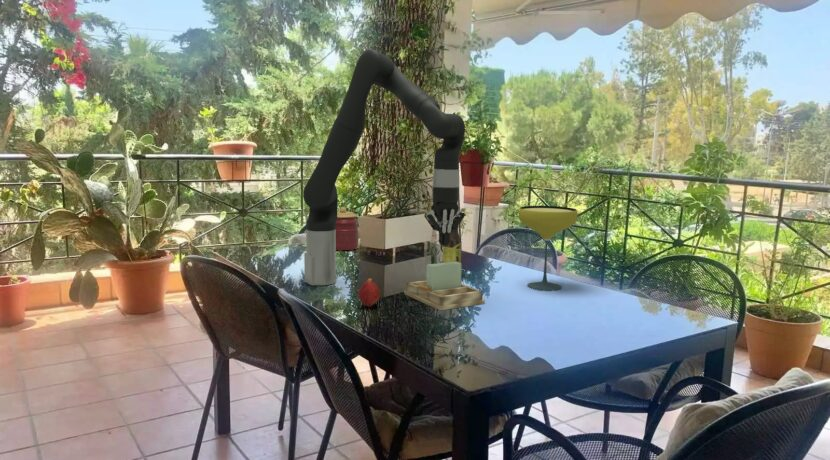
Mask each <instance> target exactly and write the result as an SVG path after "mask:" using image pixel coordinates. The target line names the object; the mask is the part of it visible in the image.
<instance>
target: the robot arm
mask: <svg viewBox="0 0 830 460" xmlns="http://www.w3.org/2000/svg"><path fill="white" fill-rule="evenodd" d="M373 85H375V86H378V87H380V88H382V89H384V90H387V91H388V92H390V93H391V94H392V95H394V96H395V97H397V99H398V100H399V101H400V102H401V104H402V105H403V106H404V108H406V110H408V111H409V112H410V113H411V115H413V116H415V117H416V118H417V119H418V120H420V121H421V122H422V124H423V125H424V127H425V128H426V130H427V131H428V132H429V133H430V134H431V135H432V136H434V137H435V138H437V139H441V140H442V143H441V147H439V148H437V149H436V150H435V152H434V157H433V159H434V160H433V163H434V164H433V174H432V193H431V194H432V196H431V198H432V199H431V200H432V206H431V208H430V209H431V210H430V211H429V212H428V213H425V214H424V218H425V220H426V221H427V222H428V224H429V226H430V227H431V229H432V230H434V231H436V232H438V244H439V245H440V246H442V247H443V246H448V244H449V242H450V232H451V231H453V230H456V228H457V227H458V228H459V226H460V224H461V223H462V221H463V220H464V218H465V217H466V213H465V212H462V211H461V209H460V206H459V204H458V202H459V201H460V200H459V199H460V170H459V169H460V153H461V149H462V146H463V143H464V141H465V140H464V139H465V134H466V125H465V124H466V123H465V121H464V119H463V118H462V116H461V115H459V114H455V113H445V112H444V111H442V110H441V106H440V104H439V103H438V101H437V100H436V99H434V98H433V97H432V96H431V95H430V94H428V93H427V92H426V91H424V90H423V89H421V88H420V87H419V86H417V84H415V83H414V82H413V81H411V80H410V79H409V78H408V77H406V75H405V74H404V73H403V72H402V71H401V70H400V68H399V67H398V66H397V65H396V64H395V62H393V60H392V59H391V58H390V57H388V56H387V55H385V54H383V53H382V52H380V51H378V50H376V49H374V48H373V49H372V48H370V49H367V50H365V51H364V52H362V54H361V55H360V56H359V58H358V59H357V62H356V64H355V67H354V70H353V74H352V77H351V79H350V83H349V86H348V88H347V92H346V94H345V97H344V98H343V101H342V103H341V106H340V108H339V111H338V114H337V116H336V118H335V120H334V121H333V124H332V126H331V129H330V132H329V134H328V136H327V139H326V141H325V143H324V147H323V149H322V152H321V154H320V157H319V160H318V162H317V164H316V167H315V168H314V169H313V172H312V173H311V175H310V178H309V179H308V180H307V182H306V184H305V186H304V189H303V193H302V195H303V201H304V203H305V205H306V206H308V211H309V212H308V217H307V219H306V222H305V226H306V227H305V229H306V231H305V233H306V242H305V243H306V252H304V255H303V256H304V259H303V262H304V282H305V283H306V284H308V285H310V286H329V285H333V284H335V283H336V282H337V260H336V259H337V254H336V252H337V251H336V221H337V212H338V205H339V203H338V202H339V201H338V199H339V197H338V196H339V195H338V189H337V186H336V184H337V180H338V177H339V175H340V173H341V171H342V169H343V168H344V167H345V165H346V164H347V162H348V160H349V159H350V158H351V157H352V155H353V154H354V152H355V150H356V149H357V147H358V145H359V143H360V140H361V139H362V137H363V136H362V135H363V133H364V131H365V127H366V120H367V119H366V115H367V114H366V108H367V107H366V106H367V100H368V96H369V93H370V92H371V89H372V87H373ZM453 218H454V219H453Z"/></svg>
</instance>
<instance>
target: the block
mask: <svg viewBox="0 0 830 460" xmlns="http://www.w3.org/2000/svg"><path fill="white" fill-rule="evenodd" d="M425 281H426V287H429V288H430V291H436V290H444V289H451V288H459V287H461V284H462V262H461V263H458V262H448V263H443V262H440V263H429V264H426V279H425Z"/></svg>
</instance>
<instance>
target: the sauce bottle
mask: <svg viewBox="0 0 830 460" xmlns="http://www.w3.org/2000/svg"><path fill="white" fill-rule="evenodd" d="M453 219H454V218H453ZM448 262H458V263H461V264H462V240H461V236H460V233H459V226H458V227H457V228H456V230H453V231H451V232H450V242H449V244H448V246H442V263H448Z"/></svg>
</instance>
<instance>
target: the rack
mask: <svg viewBox="0 0 830 460" xmlns="http://www.w3.org/2000/svg"><path fill="white" fill-rule="evenodd" d="M403 292H404V293H403V294H404V295H405V296H408V297H409V298H412V299H414V300H417V301H419V302H421V303H423V304H425V305H427V306H430V307H432V308H433V309H436V310H438V311H445V310H451V309H453V310H454V309H458V308H465V307H471V306H478V305H484V304H486V303H485V299H483V291H482V290H480V289H477V288H474V287H471V286H468V285H466V284H463V283H461V287H459V288H451V289H444V290H436V291H430V288H429V287H426V280H419V281H412V282H411V281H410V282H406V290H404V291H403Z"/></svg>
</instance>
